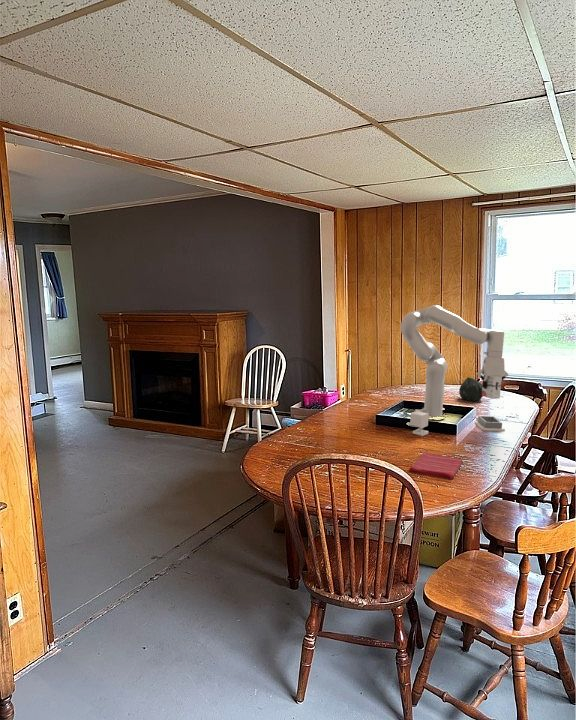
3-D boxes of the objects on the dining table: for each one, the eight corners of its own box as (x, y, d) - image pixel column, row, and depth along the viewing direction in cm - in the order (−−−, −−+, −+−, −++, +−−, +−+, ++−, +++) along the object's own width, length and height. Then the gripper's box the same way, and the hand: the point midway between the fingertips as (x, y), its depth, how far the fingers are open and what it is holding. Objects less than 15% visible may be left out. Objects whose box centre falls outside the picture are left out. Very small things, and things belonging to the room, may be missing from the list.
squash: (492, 392, 331) (479, 372, 336) (479, 396, 321) (466, 376, 327) (476, 404, 341) (463, 384, 346) (463, 408, 331) (450, 387, 337)
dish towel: (407, 473, 209) (407, 466, 208) (421, 455, 230) (422, 449, 229) (452, 482, 201) (452, 475, 201) (463, 463, 222) (463, 457, 221)
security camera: (416, 430, 265) (417, 410, 264) (428, 433, 260) (430, 413, 259) (409, 432, 261) (410, 412, 259) (421, 436, 256) (423, 415, 254)
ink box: (481, 395, 279) (483, 373, 277) (488, 395, 281) (491, 372, 279) (492, 399, 271) (494, 376, 269) (500, 398, 273) (502, 375, 271)
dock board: (482, 430, 269) (483, 422, 268) (474, 422, 282) (475, 415, 281) (504, 430, 268) (505, 423, 268) (495, 423, 281) (496, 416, 281)
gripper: (480, 354, 269) (477, 389, 272) (514, 355, 269) (511, 390, 272) (474, 352, 276) (472, 386, 279) (508, 353, 276) (505, 387, 279)
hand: (491, 388), depth 275 cm, fingers closed on ink box, 6 cm apart
